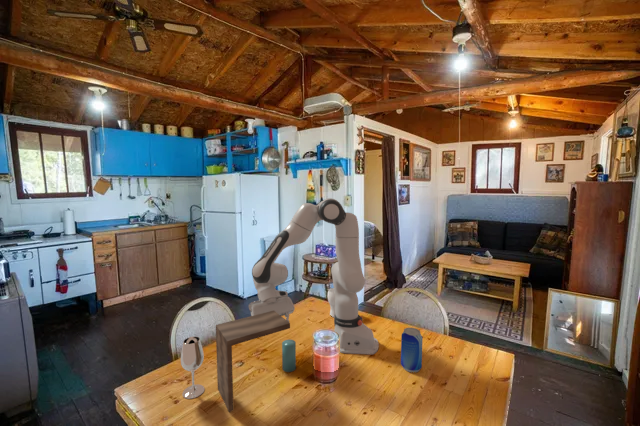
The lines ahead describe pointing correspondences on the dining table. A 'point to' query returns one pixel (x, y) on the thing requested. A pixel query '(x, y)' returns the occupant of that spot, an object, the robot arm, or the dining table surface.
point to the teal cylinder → (288, 355)
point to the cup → (331, 301)
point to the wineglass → (192, 364)
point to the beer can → (411, 350)
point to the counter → (237, 334)
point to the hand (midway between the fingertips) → (278, 326)
